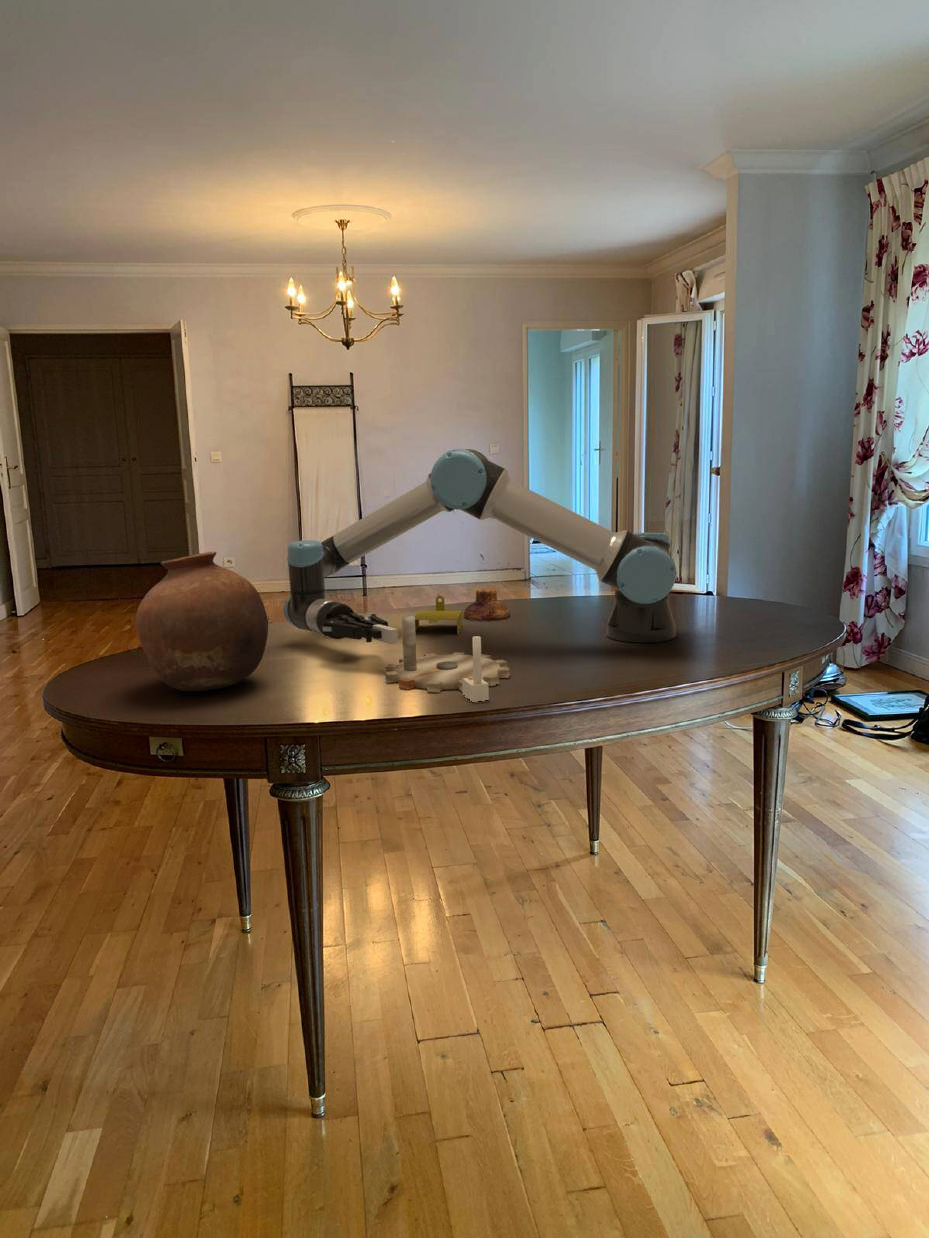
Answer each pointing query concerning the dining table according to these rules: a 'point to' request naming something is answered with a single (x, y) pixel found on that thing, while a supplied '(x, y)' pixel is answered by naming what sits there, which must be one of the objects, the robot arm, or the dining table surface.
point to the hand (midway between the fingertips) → (394, 636)
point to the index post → (476, 677)
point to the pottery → (202, 625)
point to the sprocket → (438, 666)
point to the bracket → (439, 615)
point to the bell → (486, 607)
